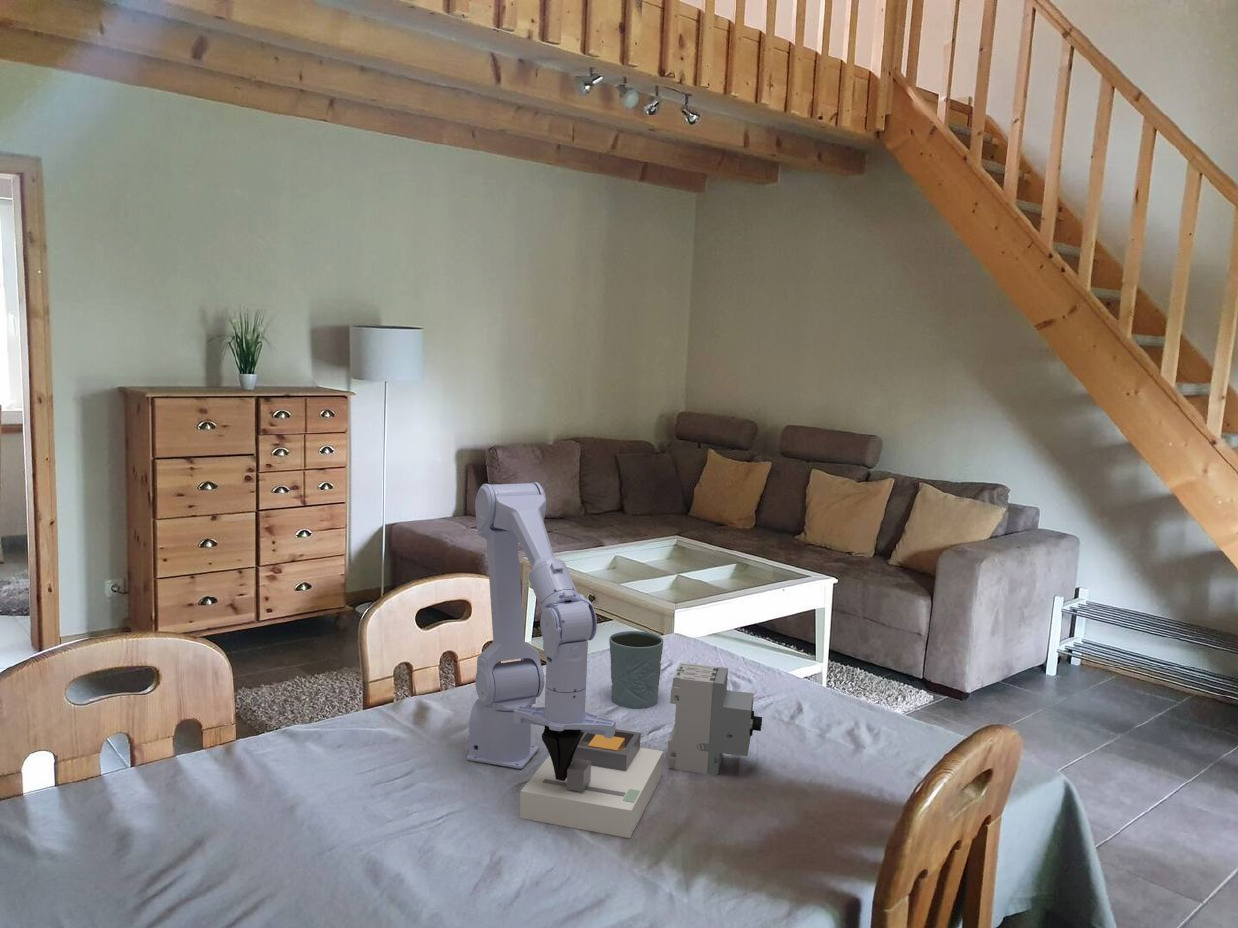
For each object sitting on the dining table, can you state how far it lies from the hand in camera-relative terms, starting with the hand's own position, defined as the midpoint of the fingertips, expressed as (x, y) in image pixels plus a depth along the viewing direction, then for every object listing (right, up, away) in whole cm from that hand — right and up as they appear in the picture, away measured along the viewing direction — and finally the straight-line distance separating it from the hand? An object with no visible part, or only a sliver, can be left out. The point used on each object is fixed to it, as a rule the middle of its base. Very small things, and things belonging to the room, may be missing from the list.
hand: (562, 777), depth 136 cm
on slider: (+2, -1, -1) cm, 3 cm away
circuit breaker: (+23, -4, +18) cm, 30 cm away
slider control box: (+4, -5, +6) cm, 8 cm away
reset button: (+6, 0, +10) cm, 12 cm away
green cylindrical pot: (+11, 0, +44) cm, 45 cm away
